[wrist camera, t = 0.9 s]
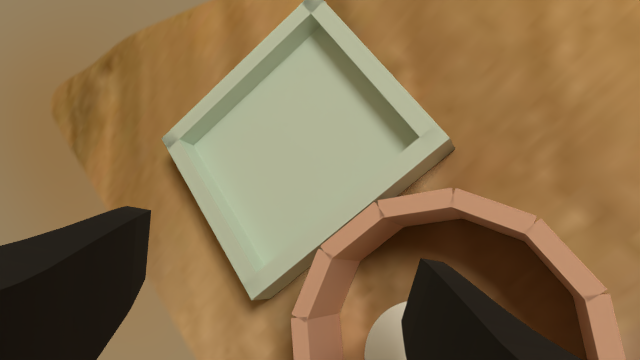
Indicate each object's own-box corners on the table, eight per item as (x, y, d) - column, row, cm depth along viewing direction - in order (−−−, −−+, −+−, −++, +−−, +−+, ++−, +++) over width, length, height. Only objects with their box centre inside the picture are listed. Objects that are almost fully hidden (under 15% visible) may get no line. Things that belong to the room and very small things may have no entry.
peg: (515, 351, 20) (513, 384, 14) (443, 399, 21) (411, 452, 15) (456, 277, 22) (431, 276, 15) (392, 324, 22) (343, 343, 16)
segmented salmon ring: (683, 388, 18) (726, 416, 14) (428, 543, 20) (408, 601, 16) (469, 155, 23) (459, 131, 19) (285, 301, 25) (246, 305, 21)
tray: (455, 149, 23) (449, 138, 21) (270, 298, 25) (251, 300, 24) (327, 9, 28) (314, -10, 26) (182, 146, 30) (161, 138, 28)
